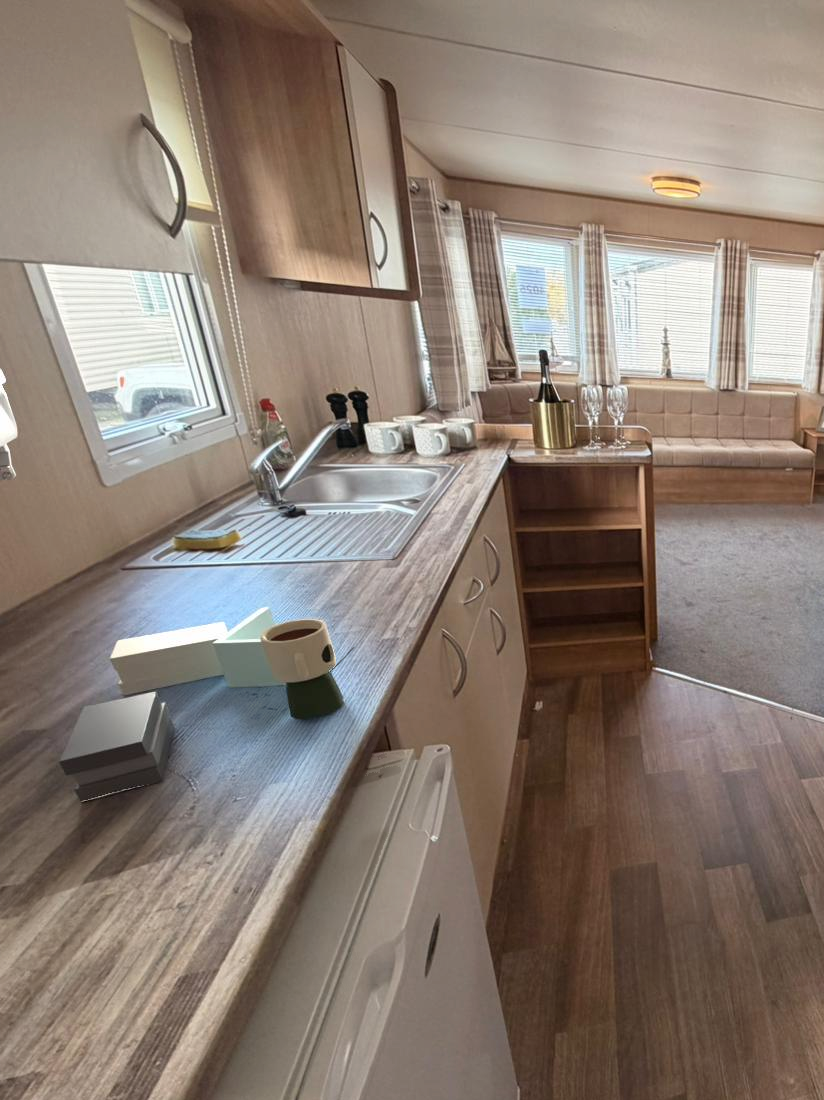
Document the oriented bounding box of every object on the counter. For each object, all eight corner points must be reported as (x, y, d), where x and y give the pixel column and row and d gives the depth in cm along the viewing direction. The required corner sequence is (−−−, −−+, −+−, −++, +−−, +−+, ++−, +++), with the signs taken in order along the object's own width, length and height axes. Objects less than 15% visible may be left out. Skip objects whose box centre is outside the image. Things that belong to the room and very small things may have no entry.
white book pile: (123, 695, 91) (112, 671, 89) (130, 675, 96) (120, 652, 94) (235, 672, 98) (226, 649, 96) (237, 654, 103) (229, 632, 101)
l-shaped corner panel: (318, 684, 96) (305, 640, 93) (229, 687, 94) (212, 643, 91) (355, 645, 107) (344, 605, 104) (275, 648, 105) (262, 607, 102)
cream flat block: (228, 632, 101) (224, 621, 100) (225, 649, 96) (221, 637, 96) (122, 652, 94) (117, 640, 93) (115, 671, 90) (109, 658, 89)
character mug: (352, 722, 88) (328, 639, 83) (288, 739, 84) (258, 653, 79) (345, 686, 96) (323, 609, 91) (286, 700, 92) (260, 620, 87)
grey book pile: (163, 781, 76) (144, 740, 74) (81, 804, 72) (58, 761, 70) (175, 727, 85) (159, 689, 83) (103, 744, 81) (83, 705, 79)
